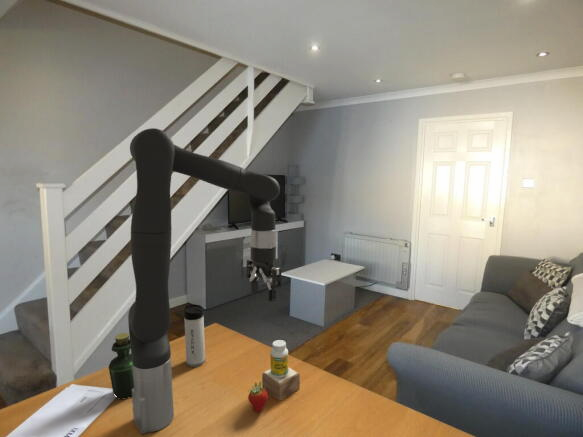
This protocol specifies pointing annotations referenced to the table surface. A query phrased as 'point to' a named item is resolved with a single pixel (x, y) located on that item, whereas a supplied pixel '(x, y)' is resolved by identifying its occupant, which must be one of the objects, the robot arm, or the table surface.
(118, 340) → the potion bottle
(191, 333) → the travel mug
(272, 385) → the wooden block
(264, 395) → the fruit
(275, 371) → the supplement bottle
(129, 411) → the table surface
